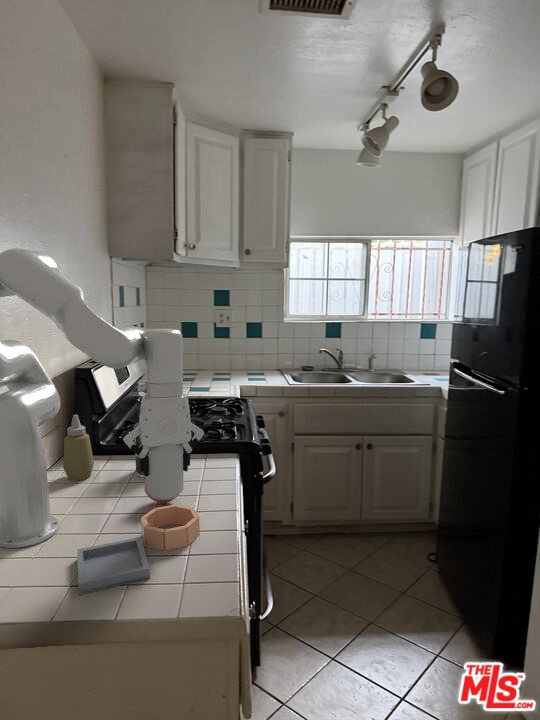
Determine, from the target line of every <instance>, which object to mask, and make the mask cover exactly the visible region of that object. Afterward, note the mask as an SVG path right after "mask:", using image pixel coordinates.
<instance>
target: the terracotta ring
mask: <svg viewBox="0 0 540 720" xmlns="http://www.w3.org/2000/svg"><path fill="white" fill-rule="evenodd" d="M140 521H141V527H140V528H141V539H142V542H143V545H144V547H147V548H151V549H155V550H159V551H165V552H166V551H170V550H174V549H179V548H180V549H181V548H184V547H188V546H189V545H191V543H193V542H194V541H195V540H196V539H198V537H199V536H200V533H201V532H200V516H199V514H198V513H197V510H196V509H195V508H194V507H191V506H186V505H183V504H181V505H180V504H171V505H170V504H169V505H165V506H159V507H155V508H153V509H151V510H150V511H148V512H147V513H146V514H144V515H142V516H141V518H140ZM173 524H175V525H182V526H176V527H173V528H172V527H171V528H166V529H165V528H159V527H163V526H168V525H173Z"/></svg>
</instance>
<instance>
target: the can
mask: <svg viewBox="0 0 540 720" xmlns="http://www.w3.org/2000/svg"><path fill="white" fill-rule="evenodd" d="M147 457H148V476H147V492H148V493H149V495H151V496H152V497H153V498H155V499H160V500H166V499H172V498H175V497H176V498H177V497H178V496H179V495H180V494H181V493H182V492H183V491H184V470H183V445H182V444H180V445H174V444H173V443H171V444H162V445H161V446H159V447H150V449H149V451H148V452H147ZM176 498H175V499H176Z"/></svg>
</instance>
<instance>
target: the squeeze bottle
mask: <svg viewBox="0 0 540 720" xmlns="http://www.w3.org/2000/svg"><path fill="white" fill-rule="evenodd" d="M70 425H71V426H69V427H68V428H67V429H66V430H67V431H66V432H67V435H66V436H65V437H64V438H63V439H64V440H63V461H62V462H63V463H62V465H63V468H62V469H63V470H64V473H65V475H66V477H67V478H68V479H67V480H69V481H73V482H75V481H76V482H77V481H83V480H87V479H89V478H90V477H91V475H92V472H93V469H94V466H95V465H94V464H95V462H94V461H95V460H94V457H93V456H94V455H93V450H92V445H91V439H90V435H89V434H88V433H86V426H84V425H82V424H81V422H80V419H79V415H78V414H73V415H72V420H71V424H70Z"/></svg>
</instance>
